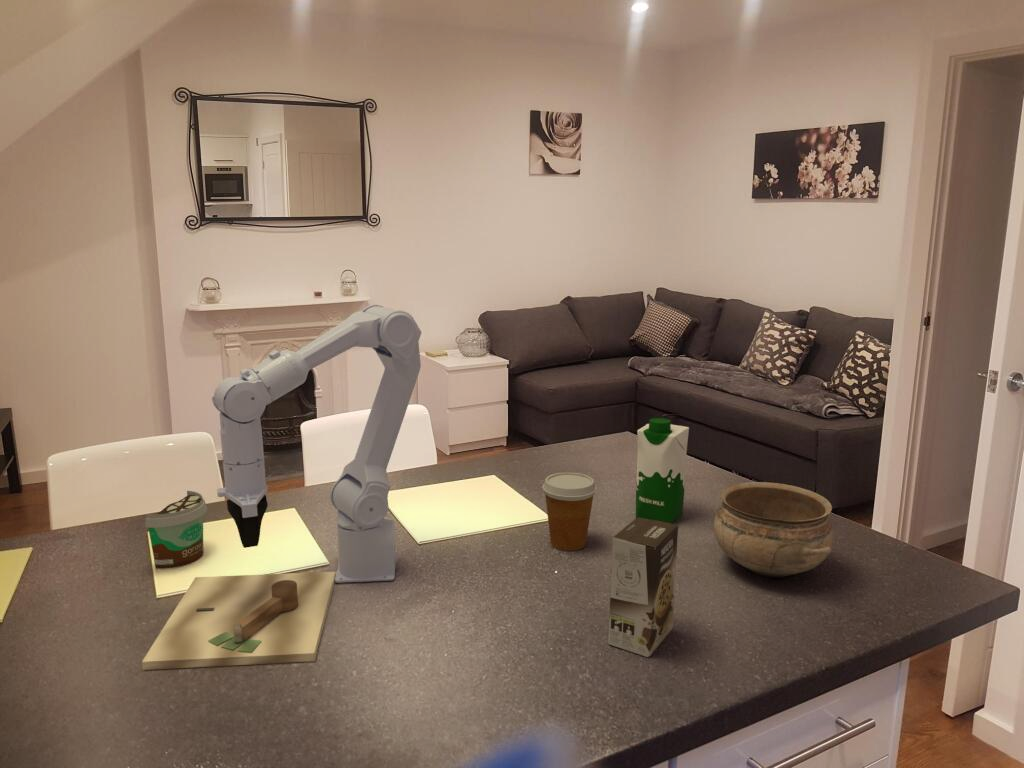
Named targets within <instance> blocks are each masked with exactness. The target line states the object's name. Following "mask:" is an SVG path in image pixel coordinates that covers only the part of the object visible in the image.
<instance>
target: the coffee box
mask: <svg viewBox="0 0 1024 768" xmlns="http://www.w3.org/2000/svg"><path fill="white" fill-rule="evenodd" d="M678 533H679V525H678V524H674V523H672V524H671V523H666V522H662V521H656V520H649V519H644V518H640V517H637V518H636V517H635V519H633V520H632V521H631V522H630V523H629V524H627V525H626V526H625V527H624V528H622V529H621V530H620V531H619V532H617V533H616V534H615V535H614V536H613V537H612V550H611V551H612V552H611V572H610V573H611V575H610V589H609V590H610V593H609V594H610V595H609V596H610V597H609V601H610V602H609V615H608V616H609V618H608V619H609V621H608V639H607V642H608V645H609V646H613V647H616V648H619V649H622V650H625V651H628V652H631V653H634V654H637V655H639V656H643V657H646V658H649V657H650V656H651V655H652V654H653V653H654V651H656V649H657V648H658V647H659V646H660V644H661V643H662V642H663V641H664V640H665V639H666V637H667V636H668V635H669V634H670V633H671V631H672V630H673V627H674V625H673V624H674V610H675V609H674V608H675V607H674V606H675V591H676V589H675V587H676V570H677V555H678V554H677V551H678V537H679V534H678Z"/></svg>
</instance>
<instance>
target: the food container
mask: <svg viewBox="0 0 1024 768" xmlns="http://www.w3.org/2000/svg"><path fill="white" fill-rule="evenodd" d="M207 511H208V506H207V503H206V500H205V498H204V497H203V495H202V493H199V492H198V491H197V492H196V491H191V490H186V496H184V497H183V498H182V499H180V500H178V501H176V502H175V501H174V502H172V503H169V504H167V506H165V507H164V508H162V510H161V511H159V512H158V513H156V514H148V513H146V515H145V516H146V517H145V524H144V525H145V526H144V527H145V528H148V532H149V533H148V534H149V538H150V544H151V549H152V555H153V559H154V566H155V569H159V570H160V569H161V570H164V569H175V568H180V567H184V566H188V565H190V564H193V563H195V562H196V561H198V560H200V559H201V558H202V557H203V555H204V515H205V514H206V512H207Z"/></svg>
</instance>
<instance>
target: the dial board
mask: <svg viewBox="0 0 1024 768" xmlns="http://www.w3.org/2000/svg"><path fill="white" fill-rule="evenodd" d="M336 572H337V571H320V572H319V571H318V572H317V571H316V572H296V573H295V572H294V573H272V574H271V573H269V574H267V573H266V574H265V573H264V574H244V575H243V574H242V575H222V576H221V575H219V576H217V575H216V576H195V577H194V578H193V580H192V581H191V584H190V585H189V587H188V588H187V590H186V592H185V593H184V595H183V597H181V600H180V601H179V603H178V604H177V606H176V607H175V608H174V611H173V612H172V613H171V615H170V617H169V618H168V620H167V622H166V623H165V625H164V626H163V628H162V629H161V631H160V632H159V634H158V636H157V637H156V638H155V640H154V642H153V643H152V645H151V647H150V648H149V649H148V651H147V653H146V655H145V656H144V658H143V659H142V661H141V665H142V671H146V670H150V671H151V670H153V671H154V670H168V669H169V670H170V669H173V670H174V669H189V668H207V667H208V668H210V667H226V666H227V667H228V666H245V665H246V666H247V665H248V666H249V665H251V666H252V665H266V664H267V665H268V664H283V663H284V664H286V663H303V662H307V663H308V662H315V661H316V657H317V654H318V650H319V646H320V641H321V638H322V634H323V630H324V627H325V622H326V619H327V614H328V612H329V611H328V610H329V607H330V604H331V599H332V594H333V591H334V588H335V587H334V586H335V583H336V582H335V576H336ZM282 580H292V581H295V582H296V583H297V594H298V606H297V607H296V608H295V609H293V610H290V611H285V612H280V613H279V614H277V615H276V616H275V617H274V618H272V619H271V620H270V621H268V622H267V623H266V624H265V625H263V626H262V627H261V628H259V629H258V630H257V631H256V632H254V633H253V634H252V635H250V636H249V637H248V638H247V639H245V640H244V641H242V642H238V643H237V642H234V632H233V627H234V625H235V624H237V623H238V622H239V621H241V620H242V619H244V618H245V617H246V616H248V615H249V614H250V613H252V612H253V611H254V610H256V609H257V608H258V607H260V606H261V605H263V604H264V603H265V602H267V601H268V600H269V599H271V598H272V588H271V587H272V585H273V584H274V583H276V582H279V581H282Z"/></svg>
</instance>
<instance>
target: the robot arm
mask: <svg viewBox="0 0 1024 768" xmlns="http://www.w3.org/2000/svg"><path fill="white" fill-rule="evenodd" d="M421 336H422V330H421V329H420V327H419V325H418V324H417V322H416V320H415V319H414V317H413V316H412V315H411V314H410V313H409V312H407V311H404V310H400V309H399V310H398V309H393V308H390V307H389V308H388V307H384V306H383V305H379V304H371V305H368V306H366V307H365V308H363V309H362V310H361V311H359V310H358V311H355V312H353V313H352V314H351V315H349V316H348V317H347V318H346V319H345V320H343V321H342V322H340V323H339V324H337V325H336V326H334V327H332V328H331V329H329V330H328V331H326V332H324V333H323V334H322V335H320V336H319V337H317V338H316V339H314V340H313V341H311V342H309V343H308V344H306V345H305V346H303V347H301V348H300V349H298V350H297V351H292V350H290V349H283V350H281V351H279V350H276V349H274V350H272V351H271V352H269V353H268V356H269V358H267V359H265V360H263V361H262V362H260V363H258V364H256V365H254V366H252V367H251V368H250V369H248V368H247V367H246V368H244V369H242V370H240V372H239V373H240V376H230V377H226V378H224V379H223V380H221V381H220V382H219V383H218V384H217V387H216V388H215V390H214V393H213V396H211V401H212V404H213V406H214V408H215V409H216V410H217V411H218V412H219V423H220V431H219V432H220V433H219V434H220V443H221V445H220V446H221V453H222V454H221V456H222V466H223V477H224V478H223V479H224V487H221V488H220V487H219V488H217V490H216V492H217V494H216V495H217V497H218V498H223V497H224V498H227V500H226V506H227V507H226V509H227V511H228V514H229V515H230V516H231V517H232V519H233V521H234V522H235V525H236V527H237V531H238V536H239V538H240V542H241V545H242V547H243V548H251V547H252V548H253V547H258V546H259V541H260V536H261V527H262V522H263V517H264V515H265V513H266V512H267V509H268V506H269V504H268V500H267V496H266V495H267V493H268V487H269V486H268V483H266V482H267V480H266V468H265V456H264V455H265V453H264V443H263V432H262V431H263V429H262V423H261V417H262V415H263V414H264V411H265V410H266V406H267V405H270V404H271V403H273V402H274V401H276V400H278V399H279V398H281V397H283V396H284V395H286V394H288V393H290V392H292V391H293V390H295V389H296V388H298V387H299V386H301V385H303V384H304V383H305V382H306V380H307V377H308V373H309V372H310V370H313V369H314V368H316V367H318V366H320V365H322V364H324V363H326V362H327V361H329V360H332V359H333V358H335V357H337V356H339V355H340V354H343V353H345V352H346V351H348V350H351V349H353V348H355V347H359V348H372V349H373V351H375V353H376V355H377V356H378V358H379V361H381V363H382V365H383V367H384V370H383V374H382V377H381V379H380V382H379V385H378V388H377V392H376V395H375V397H374V399H373V400H374V401H373V403H372V406H371V409H370V412H369V415H368V416H367V417H368V418H367V421H366V424H365V427H364V430H363V433H362V436H361V439H360V441H359V444H358V446H357V447H358V448H357V449H356V453H355V456H354V459H352V460H351V461H350V462H349V463H347V464H345V466H344V467H343V470H342V473H341V474H340V476H339V477H338V479H337V480H336V481H334V483H333V484H332V487H331V489H330V493H329V494H330V495H329V499H330V502H331V505H332V506H333V507H334V508H335V509H336V510H337V518H336V525H337V528H336V529H337V545H338V547H337V548H338V564H337V568H336V571H335V572H336V576H335V583H337V584H338V583H339V584H340V583H362V582H363V583H364V582H365V583H366V582H385V581H386V582H387V581H388V582H389V581H394V580H395V575H396V567H397V566H396V565H397V564H398V551H397V549H396V525H395V524H396V522H395V519H390V518H389V519H388V518H386V516H387V514H388V511H389V500H388V498H389V492H390V489H391V484H390V480H389V476H388V473H387V468H388V465H389V463H390V460H391V457H392V453H393V452H394V447H395V445H396V442H397V440H398V439H397V438H398V437H399V436H398V435H399V433H400V430H401V428H402V424H403V421H404V418H405V416H406V411H407V410H408V407H409V404H410V400H411V398H412V395H413V392H414V389H415V385H416V382H417V380H418V377H419V374H420V371H421V366H422V365H421V363H422V362H421V355H420V354H421V353H420V343H419V342H420V339H421Z"/></svg>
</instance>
